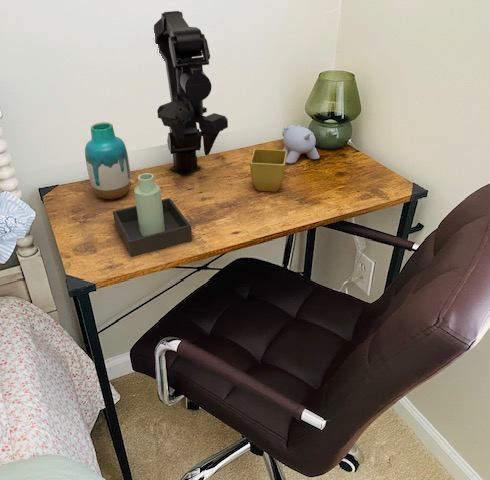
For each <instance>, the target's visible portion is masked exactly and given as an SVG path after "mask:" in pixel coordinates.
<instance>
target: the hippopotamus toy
mask: <svg viewBox="0 0 490 480" xmlns="http://www.w3.org/2000/svg"><path fill="white" fill-rule="evenodd" d="M281 135H282V137H283V138H282V142H283V145H284V146H283V147H282V150H287V156H286V164H295V163H296V162H297V161H298V159H299V158H300V156H301V154H305V155H306V157H308V159H309V160H318V159H320V154H319V152H318V150H317V148H316V147H315V146H316V144H317V143H316V142H317V140H316V136H315V134H314V132H312V131H311V130H310V129H308V128H307V127H304V126H302V125H301V124H298V125H294V124H289V125H287V126H284V127H283V128H282V133H281Z"/></svg>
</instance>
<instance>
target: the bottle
mask: <svg viewBox="0 0 490 480" xmlns="http://www.w3.org/2000/svg"><path fill="white" fill-rule="evenodd" d="M137 181H138V185H136V186H135V187H134V189H133V192H134V193H133V194H134V201H135V206H136V208H137V215H138V222H139V229H140V233H141V235H142V236H148V235H152V234H156V233H160V232H163V231H165V226H164V216H163V207H162V200H163V198H162V188H161V185H159V184H158V183H155V176H154V174H152V173H150V172H146V173H145V172H144V173H141V174H139V175H138V176H137Z"/></svg>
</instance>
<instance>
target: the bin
mask: <svg viewBox="0 0 490 480" xmlns="http://www.w3.org/2000/svg"><path fill="white" fill-rule="evenodd" d="M162 207H163V216H164V226H165V231H163V232H160V233H156V234H152V235H148V236H142V235H141V233H140V229H139V222H138V215H137V208H136V205H133V206H129V207H125V208H120V209H115V210H112V215H113V220H114V226H115V228H116V230H117V232H118V234H119V236H120V238H121V240H122V242H123V244H124V246H125V247H126V249H127V252H128V253H129V255H130V258H132V257H137V256H141V255H144V254H148V253H151V252H155V251H159V250H162V249H167V248H171V247H174V246H178V245H183V244H185V243H189V242H192V241H193V234H192V225H191V224H190V223H189V222H188V220H187V218H186V217H185V216H184V215H183V213H182V212H181V210H180V209H179V208H178V206H177V205H176V204H175V202H173V200H172V199H171V197H167V198H164V199H163V198H162Z"/></svg>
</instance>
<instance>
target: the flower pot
mask: <svg viewBox="0 0 490 480" xmlns="http://www.w3.org/2000/svg"><path fill="white" fill-rule="evenodd" d="M286 156H287V150H283V149H270V148H269V149H268V148H267V149H266V148H254V149H253V150H252V155H251V159H250V161H249V167H250V178H251V182H252V184H253V186H254V188H255V189H256V191H258V192H272V193H274V192H275V193H276V192H278V190H279V189H280V188H281V185H282V183H283V179H284V174H285V169H286V164H287V162H286Z"/></svg>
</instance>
